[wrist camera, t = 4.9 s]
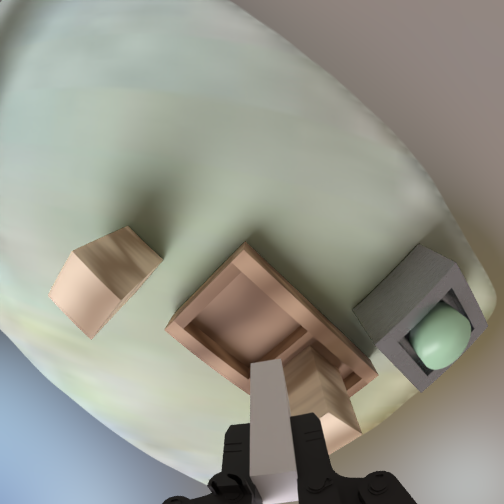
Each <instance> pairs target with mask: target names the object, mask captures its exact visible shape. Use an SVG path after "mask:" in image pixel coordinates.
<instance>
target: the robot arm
mask: <svg viewBox="0 0 504 504" xmlns="http://www.w3.org/2000/svg"><path fill="white" fill-rule="evenodd" d="M223 452H224V453H223V462H222V472H220V473H218V474H216V475H214V476H213V477H212V478H211V479H210V480H209V483H208V485H207V486H208V488H209V489H210V490H211V492H212V493H211V494H209V495H206V496H203V497H199V498H195V499H191V500H190V499H188V498H186V497H184V496H174V497H170V498H168V499H167V500H165V501H164V502H163V503H162V504H262V502H263V504H275V503H284V502H292V501H298V500H299V504H417V503H416V502H415V501H414V499H413V498H412V497H411V496H410V494H409V493H408V492H407V491H406V489H405V488H404V487H403V486H402V484H401V483H400V482H399V481H398V480H397V478H396V477H395V476H394V475H393V474H391V473H390V472H386V471H376V472H373V473H370V474H368V475H367V476H366V477H364V478H348V477H343V476H340V475H338V474H337V473H335V471H334V470H333V469H332V466H331V463H330V459H329V454H328V450H327V446H326V442H325V438H324V433H323V429H322V425H321V421H320V419H319V418H318V417H317V416H316V415H315V414H314V413H313V412H312V413H307V414H302V415H297V416H291V412H290V405H289V398H288V392H287V387H286V382H285V377H284V372H283V366H282V361H281V358H280V359H274V360H269V361H263V362H256V363H251V372H250V423H247V424H237V425H230V427H229V429H228V430H227V432H226V433H225V440H224V451H223Z"/></svg>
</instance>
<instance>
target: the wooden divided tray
mask: <svg viewBox="0 0 504 504" xmlns="http://www.w3.org/2000/svg"><path fill="white" fill-rule="evenodd" d="M165 331H166V332H167V333H169V334H170V335H171V336H172V337H173V338H175V339H176V340H177V341H178V342H179V343H181V344H182V345H183V346H184V347H186V348H187V349H188V350H189V351H191V352H192V353H193V354H194V355H196V356H197V357H198V358H200V359H201V360H202V361H203V362H205V363H206V364H207V365H209V366H210V367H211V368H213V369H214V370H215V371H217V372H218V373H219V374H221V375H222V376H223V377H225V378H226V379H228V380H229V381H230V382H232V383H233V384H235V385H236V386H237V387H239V388H240V389H242V390H243V391H245V392H246V393H247V394H249V395H250V372H251V363H256V362H263V361H269V360H274V359H280V358H281V361H282V366H285V365H286V364H287V363H288V362H290V361H291V360H292V359H293V358H295V357H296V356H297V355H298V354H300V353H301V352H302V351H303V350H305V349H306V348H307V347H308V346H309V345H311V346H312V347H313V348H314V349H315V350H316V351H318V352H319V353H320V354H321V355H322V356H324V357H325V358H326V359H327V360H328V361H329V362H331V363H332V364H333V365H334V366H335V367H337V368H338V369H339V372H340V374H341V377H342V380H343V382H344V385H345V388H346V390H347V393H348V396H349V398H350V397H351V396H352V395H354V394H355V393H356V392H358V391H359V390H360V389H362V388H363V387H364V386H366V385H367V384H368V383H369V382H371V381H372V380H373V379H374V378H376V377H377V376H378V373H377V371H376V370H375V368H374V366H373V364H372V362H371V360H370V359H369V358H368V357H367V356H366V355H365V354H364V353H363V352H362V351H361V350H360V349H359V348H357V347H356V346H355V345H354V344H353V343H352V342H351V341H350V340H349V339H348V338H347V337H346V336H345V335H344V334H343V333H342V332H341V331H340V330H339V329H338V328H336V327H335V326H334V325H333V324H332V323H331V322H330V321H329V320H328V319H327V318H326V317H325V316H324V315H323V314H322V313H321V312H320V311H319V310H317V309H316V308H315V307H314V306H313V305H312V304H311V303H310V302H309V301H308V300H307V299H306V298H305V297H304V296H303V295H302V294H301V293H300V292H298V291H297V290H296V289H295V288H294V287H293V286H292V285H291V284H290V283H289V282H288V281H287V280H286V279H285V278H284V277H283V276H282V275H281V274H279V273H278V272H277V271H276V270H275V269H274V268H273V267H272V266H271V265H270V264H269V263H268V262H267V261H266V260H265V259H264V258H263V257H261V256H260V255H259V254H258V253H257V252H256V251H255V250H254V249H253V248H252V247H251V246H250V245H249V244H248V243H247V242H246V241H245V242H244V243H243V244H242V245H241V246H240V247H239V248H238V249H237V250H236V251H235V252H234V253H233V254H232V255H231V256H230V257H229V258H228V259H227V260H226V261H225V262H224V263H223V264H222V265H221V266H220V267H219V268H218V269H217V270H216V271H215V272H214V273H213V274H212V275H211V276H210V278H209V279H208V280H207V281H206V282H205V283H204V284H203V285H202V286H201V287H200V288H199V289H198V290H197V291H196V292H195V293H194V294H193V295H192V296H191V297H190V298H189V299H188V300H187V301H186V302H185V303H184V304H183V305H182V306H181V307H180V308H179V309H178V310H177V311H176V313H175V314H174V315H173V316H172V318H171V319H170V321H169V323H168V325H167V326H166V328H165Z"/></svg>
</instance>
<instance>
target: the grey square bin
mask: <svg viewBox="0 0 504 504" xmlns="http://www.w3.org/2000/svg"><path fill="white" fill-rule="evenodd" d="M439 302H444V303H447V304H449V305H450V306H452V307H453V308H454V309H455V310H457V311H458V312H459V313H461V314H462V315H463V316H464V317H465V318H467V319H468V321H469V322H470V325H471V335H470V339H469V342H468V344H467V346H466V348H465V350H464V351H463V353H464V352H465V351H466V350H467V349H468V348H469V347H470V346H471V345H472V344H473V343H474V341H475V340H476V339H477V338H478V337H479V336H480V335H481V334H482V333H483V331H484V330H485V329H486V328H487V327H488V325H487V322H486V320H485V318H484V316H483V313H482V311H481V309H480V307H479V305H478V303H477V301H476V299H475V297H474V295H473V293H472V291H471V289H470V287H469V285H468V283H467V281H466V280H465V278H464V276H463V274H462V272H461V270H460V269H459V267H458V265H457V263H456V262H454V261H452V260H450V259H448V258H446V257H444V256H442V255H440V254H439V253H437V252H435V251H433V250H431V249H429V248H427V247H424V246H422V245H420V244H418V245H417V246H416V247H415V248H414V249H413V250H412V251H411V252H410V254H409V255H408V256H407V257H406V258H405V259H404V260H403V261H402V262H401V263H400V264H399V265H398V266H397V267H396V268H395V269H394V270H393V271H392V272H391V273H390V274H389V275H388V276H387V277H386V278H385V279H384V280H383V281H382V282H381V283H380V284H379V285H378V286H377V287H376V288H375V289H374V290H373V291H372V292H371V293H370V294H369V295H368V296H367V297H366V298H365V299H364V300H363V301H362V302H360V303H359V304H358V305H357V306H356V307H355V308H354V309H353V312H354V313H355V315H356V316H357V318H358V320H359V321H360V323H361V324H362V326H363V327H364V329H365V330H366V332H367V334H368V335H369V337H370V338H371V340H372V341H373V343H374V345H375V346H376V347H377V348H378V349H379V350H380V351H381V352H382V353H383V354H384V355H385V356H386V357H387V358H388V359H389V360H390V361H391V362H392V363H393V364H394V365H395V366H396V367H397V368H398V369H399V370H400V371H401V372H402V373H403V375H404V376H405V377H406V378H407V379H408V380H409V381H410V382H411V383H412V384H413V385H414V386H415V387H416V388H417V389H418V390H419V391H420V392H423V391H424V390H425V389H426V388H427V387H428V386H429V385H430V384H432V383H433V382H434V381H435V380H436V379H437V378H438V377H440V376H441V375H442V374H443V373H444V372H445V371H446V370H447V369H448V368H449V367H450V366H451V365H452V364H453V363H454V362H455V361H456V360H457V359H458V358H459V357H460V356H461V355H462V354H463V353H462V354H461V355H460V356H459V357H458V358H457V359H456V360H455V361H454V362H453V363H452V364H450V365H449V366H447V367H445V368H442V369H438V370H433V369H430V368H428V367H427V366H426V365H425V364H424V363H423V361H422V360H421V359H420V358H419V356H418V355H417V354H416V352H415V351H414V350H413V349H412V347H411V345H410V342H409V335H410V331H411V329H412V328H413V327H414V326H415V325H416V324H418V323H419V322H420V321H421V320H422V319H423V318H424V317H425V316H426V315H427V313H428V312H429V311H430V310H431V309H432V308H433V307H434V306H435V305H436V304H437V303H439Z"/></svg>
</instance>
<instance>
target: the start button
mask: <svg viewBox="0 0 504 504" xmlns="http://www.w3.org/2000/svg"><path fill="white" fill-rule="evenodd" d="M470 335H471V325H470V322H469V321H468V319H467V318H465V317H464V316H463V315H462V314H461V313H459V312H458V311H457V310H455V309H454V308H453V307H452V306H450V305H449V304H447V303H444V302H439V303H437V304H436V305H435V306H434V307H433V308H432V309H431V310H430V311H429V312H428V313H427V315H426V316H425V317H424V318H423V319H422V320H421V321H420V322H419V323H418V324H416V325H415V326H414V327H413V328H412V329H411V331H410V335H409V342H410V345H411V347H412V349H413V350H414V351H415V352H416V354H417V355H418V356H419V358H420V359H421V360H422V361H423V363H424V364H425V365H426V366H427V367H428V368H430V369H433V370H438V369H442V368H445V367H447V366H449V365H450V364H452V363H453V362H454V361H455V360H456V359H457V358H458V357H459V356H460V355H461V354H462V353H463V351H464V350H465V348H466V346H467V344H468V342H469V339H470Z"/></svg>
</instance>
